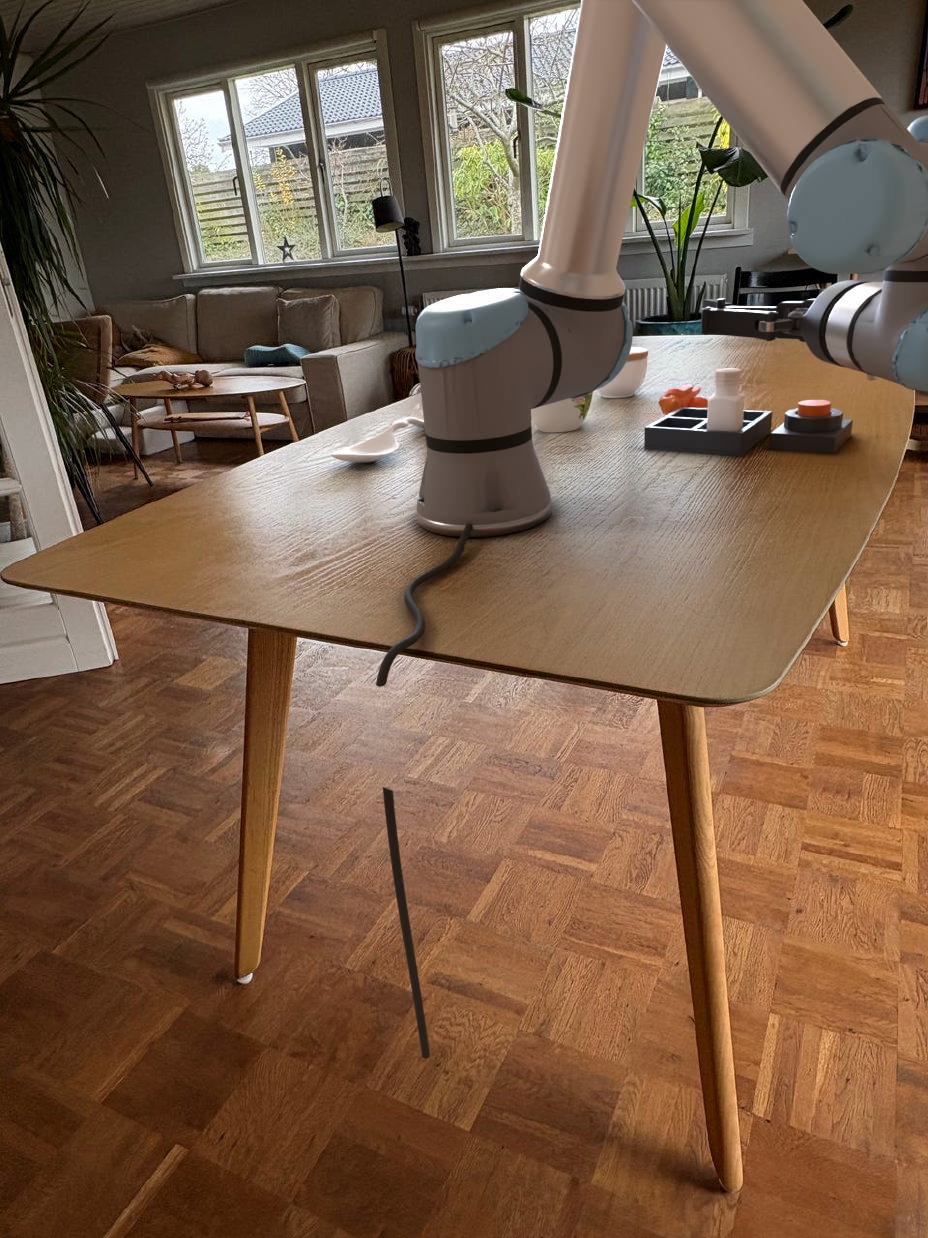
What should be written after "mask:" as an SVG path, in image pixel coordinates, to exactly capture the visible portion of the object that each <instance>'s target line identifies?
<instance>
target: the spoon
mask: <svg viewBox="0 0 928 1238" xmlns="http://www.w3.org/2000/svg"><path fill="white" fill-rule="evenodd" d="M410 424H411V425H413V426H415V427H417V428H422V429H425V426H424V416H423V407H421V404H420V403H416V405H415V406H414V408H413V410H412V412H411V414H410V416H407V417H404V418H401V419H399V420H395V421H392V422H391V423H390V424H389V427H387V428H386V429H385V430H383V431H382V432H380V433H379V434H376V435H375V436H373V437H370V438H368V439H365V440H363V441H360V442H357V443H354V444H352V445H350V446H347V447H345V448H342V449H339V450H336V451H333V452H331V453H330V456H331V457H332V458H334V459H336V460H338V461H343V462H351V463H357V464H363V463H371V462H372V463H373V462H377V461H380V460H381V459H385V458H387V457H389V456H390V455H392V454H393V453H395V452H397V450H398V448H399V442H398V440H397V438H396V437H395V432H396V431H398V430H400V429H405V428H408V426H409V425H410Z"/></svg>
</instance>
